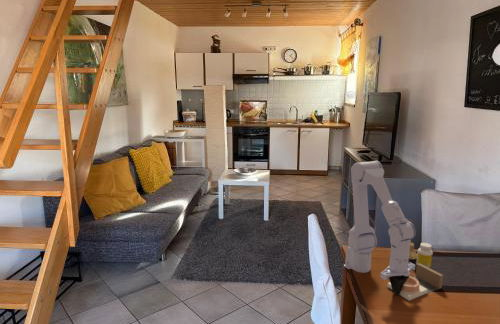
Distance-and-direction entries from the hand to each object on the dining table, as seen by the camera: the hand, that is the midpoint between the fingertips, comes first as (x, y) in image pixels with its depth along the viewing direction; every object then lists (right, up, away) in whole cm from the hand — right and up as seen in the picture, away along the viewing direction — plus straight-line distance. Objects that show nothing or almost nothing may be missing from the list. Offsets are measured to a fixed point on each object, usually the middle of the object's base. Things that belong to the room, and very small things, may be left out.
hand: (396, 292), depth 117 cm
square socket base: (+5, 0, +2) cm, 6 cm away
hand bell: (+18, +5, +29) cm, 35 cm away
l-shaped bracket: (+8, -1, +4) cm, 9 cm away
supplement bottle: (+19, +3, +19) cm, 28 cm away
